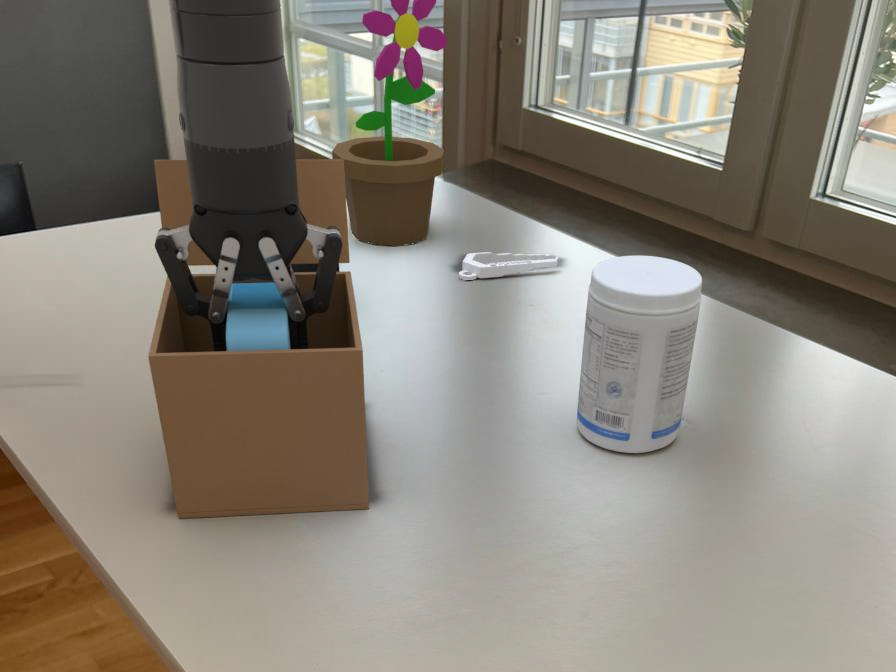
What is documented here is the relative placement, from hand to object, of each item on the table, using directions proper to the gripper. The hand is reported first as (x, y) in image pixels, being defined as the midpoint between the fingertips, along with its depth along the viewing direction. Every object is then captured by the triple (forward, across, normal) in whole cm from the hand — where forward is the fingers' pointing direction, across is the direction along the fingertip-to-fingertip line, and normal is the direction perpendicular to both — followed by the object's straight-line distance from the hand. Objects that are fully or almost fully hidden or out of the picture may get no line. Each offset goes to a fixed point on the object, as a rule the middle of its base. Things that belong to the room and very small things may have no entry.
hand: (263, 362), depth 79 cm
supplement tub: (+9, -32, -3) cm, 34 cm away
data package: (+8, 0, 0) cm, 8 cm away
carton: (+9, 0, 0) cm, 9 cm away
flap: (-9, 0, -9) cm, 13 cm away
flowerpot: (+9, -15, -60) cm, 63 cm away
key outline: (+9, -28, -45) cm, 54 cm away
